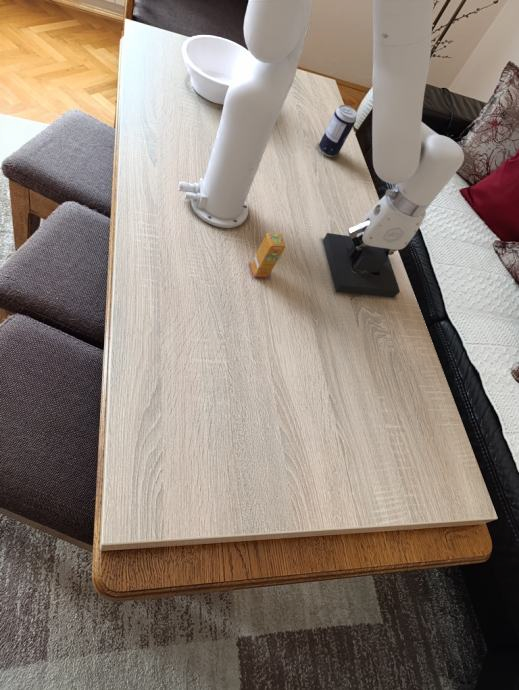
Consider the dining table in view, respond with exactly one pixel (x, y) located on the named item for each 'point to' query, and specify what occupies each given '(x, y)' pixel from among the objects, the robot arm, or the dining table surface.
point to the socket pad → (353, 281)
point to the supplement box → (267, 255)
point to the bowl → (212, 64)
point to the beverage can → (338, 130)
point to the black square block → (370, 259)
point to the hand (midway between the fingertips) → (363, 259)
